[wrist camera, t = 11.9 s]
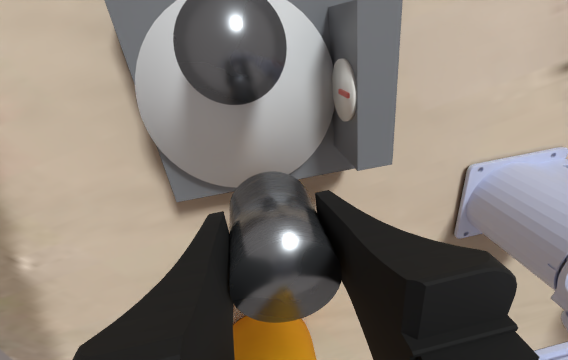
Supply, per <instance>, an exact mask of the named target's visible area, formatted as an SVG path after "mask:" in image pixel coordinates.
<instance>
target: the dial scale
mask: <svg viewBox="0 0 568 360" xmlns="http://www.w3.org/2000/svg"><path fill="white" fill-rule="evenodd" d="M186 1H187V0H105V3H106V6H107V9H108V11H109V14H110V17H111V20H112V23H113V25H114V28H115V31H116V34H117V37H118V39H119V42H120V45H121V48H122V51H123V53H124V56H125V59H126V62H127V64H128V67H129V70H130V73H131V76H132V78H133V81H134V84H135V92H136V98H137V104H138V108H139V111H140V115H141V118H142V120H143V122H144V125H145V127H146V129H147V131H148V133H149V134H150V136H151V138H152V140H153V141H154V143H155V144H156V146H157V148H158V151H159V154H160V157H161V160H162V162H163V165H164V168H165V171H166V174H167V176H168V179H169V182H170V185H171V188H172V190H173V193H174V196H175V199H176V201H177V202H180V201H186V200H191V199H196V198H202V197H207V196H212V195H217V194H223V193H228V192H233V191H235V190H236V189H237V187H238V186H239V185H240V184H241V183H242V182H243V181H245V180H246V179H248V178H249V177H251V176H253V175H256V174H259V173H263V172H272V171H275V172H282V173H286V174H289V175H291V176H293V177H294V178H296V179H302V178H307V177H312V176H317V175H323V174H328V173H333V172H338V171H344V170H349V169H354V168H355V169H356V170H357V171H360V170H365V169H370V168H375V167H380V166H386V165H391V164H392V159H393V143H394V127H395V111H396V95H397V79H398V63H399V47H400V31H401V15H402V0H267V1H268V2H269V3H270V4H271V5H272V7H273V8H274V9H275V11H276V12H277V14H278V16H279V18H280V20H281V22H282V25H283V28H284V31H285V36H286V44H287V53H286V61H285V65H284V68H283V71H282V73H281V76H280V78H279V79H278V81H277V83H276V84H275V85H274V87H273V88H272V89H271V90H270V91H269V92H268V93H267V94H265V95H264V96H263V97H261V98H259V99H258V100H256V101H253V102H251V103H247V104H243V105H226V104H221V103H218V102H215V101H213V100H210V99H208V98H207V97H205V96H203V95H202V94H200V93H199V92H198V91H197V90H196V89H195V88H193V87H192V86H191V84H190V83H189V82H188V81H187V79H186V78H185V76H184V75H183V73H182V71H181V69H180V67H179V65H178V62H177V60H176V56H175V52H174V44H173V33H174V26H175V22H176V19H177V16H178V14H179V11H180V9H181V8H182V6H183V5H184V3H185V2H186Z"/></svg>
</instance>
